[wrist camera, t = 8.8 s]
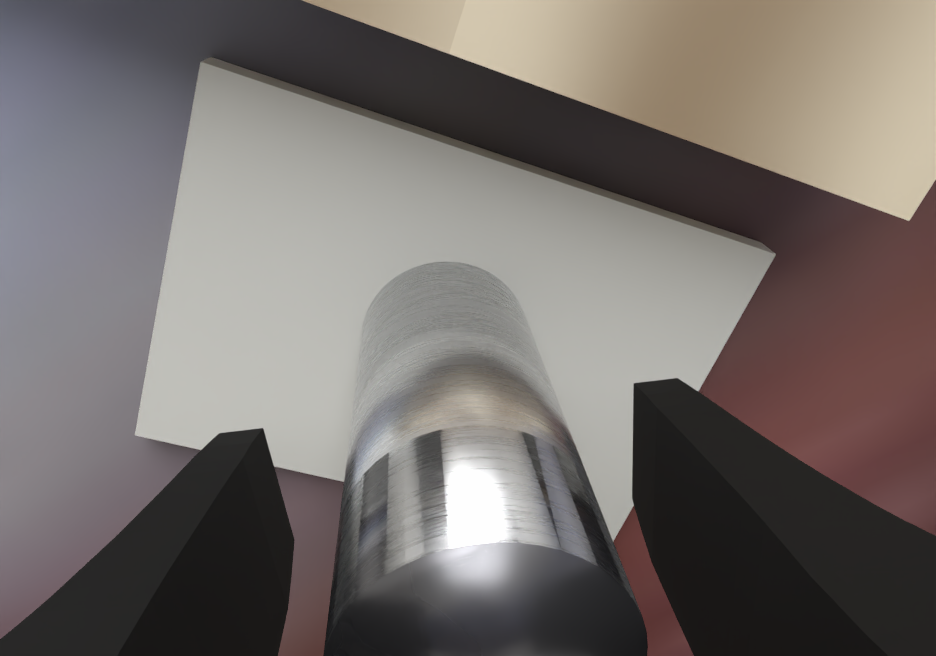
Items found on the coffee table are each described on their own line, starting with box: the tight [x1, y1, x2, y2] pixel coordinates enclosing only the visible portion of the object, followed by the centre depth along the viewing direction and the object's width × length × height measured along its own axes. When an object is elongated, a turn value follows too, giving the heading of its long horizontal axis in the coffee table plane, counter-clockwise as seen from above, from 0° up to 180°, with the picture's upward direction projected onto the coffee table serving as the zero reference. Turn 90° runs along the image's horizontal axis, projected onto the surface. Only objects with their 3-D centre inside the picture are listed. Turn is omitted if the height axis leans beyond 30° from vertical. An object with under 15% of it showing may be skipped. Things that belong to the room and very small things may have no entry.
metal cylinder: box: [324, 261, 648, 656], centre depth 10 cm, size 3×3×7 cm
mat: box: [135, 57, 776, 541], centre depth 13 cm, size 10×7×1 cm
